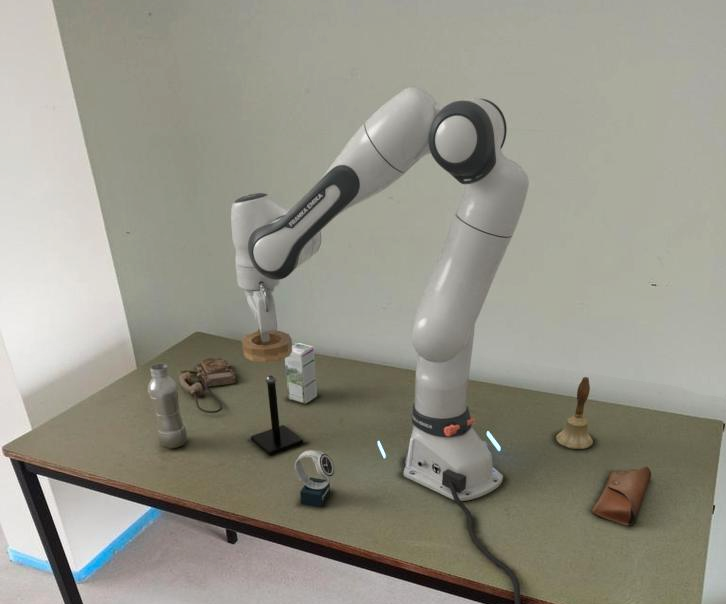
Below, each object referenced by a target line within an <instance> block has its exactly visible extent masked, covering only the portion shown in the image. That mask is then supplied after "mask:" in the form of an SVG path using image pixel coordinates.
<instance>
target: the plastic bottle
mask: <svg viewBox="0 0 726 604" xmlns="http://www.w3.org/2000/svg"><path fill="white" fill-rule="evenodd" d="M149 370H150V376H151V377H152V378H151V380H150V381H149V383H148V385H147V392H148V393H147V394H148V395H149V398H150V401H151V403H152V406H153V410H154V413H155V418H156V425H157V427H156V428H157V429H156V433H157V439H158V442H159V444H160V445H162V446H163V447H164V448H166V449H175V448H179V447H182V446H184V445H185V444H186V442H187V440H188V433H187V429H186V426H185V425H184V422H183V418H182V415H181V411H180V404H179V387H178V384H177V382H176V381H175V380H174V379H173V378H172V377H171V376H170V375H169V374H170V371H169V369H168V364H166V363H160V362H159V363H154V364H152V365H150V367H149Z"/></svg>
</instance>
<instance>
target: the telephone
mask: <svg viewBox="0 0 726 604" xmlns="http://www.w3.org/2000/svg"><path fill="white" fill-rule="evenodd" d="M195 366H196V369H187V368H186V369H184V370H180V373H181V374H180V375H179V378H178V380H179V383H180V386H181V387H182V388H183V389H184V390H185V391H186V392H187V393H190V395H192V396H194V398H195V404H196V405H195V406H196V407H197V409H198V410H200V411H201V412H203V413H207V414H216V413H219V412H221V411H222V410H223V404H222V402H221V401H220V400H219V399H218V397H217V396H216V395H215V394H214V393H213V391H211V389H210V388H209V387H216V386H224V385H231V384H232V385H233V384H236V383H237V377H236V372H235V371H234V369H233V368H231V366H230V364H229V361H228V360H223V358H214V357H212V358H211V357H210V358H206V359H204V360H203V359H202V360H201V361H200V363H197V364H196V365H195ZM191 375H196V376H197V378H198V379H199V380H200V381H201V383H200V382H199V381H198V382H195V383H193V384H192V376H191ZM205 390H207V391H208V393H209V394H210V395H211V396H212V397H213V398H214V400H215V401H216V402H217V403H218V404H219V406H220V407H219V409H217V410H206V409H204V408H202V407H201V406H200V404H199V400H198V397H201V396H203V395H204V392H205Z"/></svg>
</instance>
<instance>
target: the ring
mask: <svg viewBox="0 0 726 604" xmlns="http://www.w3.org/2000/svg"><path fill="white" fill-rule="evenodd" d="M269 337H270V340H269V341H268V342H262V340H261V336H260V331H258V330H257V331H254V332H251V333H249V334H246V335H245V336H244V337H243V338H242V339H241V346H242V354H243V356H244V358H245V359H247V360H249V361H252V362H256V363H271V362H272V363H273V362H279V361H282V360H285V358H286V357H289V355H290V354H291V353H292V344H293V341H292V340H293V339H292V337H291V336H290V334H289V333H287V332H284V331H282V330H277V331H276V332H271V333H269Z"/></svg>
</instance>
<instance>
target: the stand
mask: <svg viewBox="0 0 726 604" xmlns="http://www.w3.org/2000/svg"><path fill="white" fill-rule="evenodd" d="M265 382H266V385H267V394H268V395H267V396H268V405H269V413H270V423H271V429H268V430H265V431H262V432H258V433H256V434H253V435H250V441H251V442H252V443H254V444H255V445H256V446H257V447H258V448H260V450H262V451H263V452H264V453H265V454H267V455H268V456H269V457H271V456H275V455H277V454H280V453H282V452H286V451H287V450H291V449H294V448H296V447H299V446H301V445H304V440H303V438H301V437H300V436H299V435H297V434H296V433H295V432H293V431H292V430H291V429H290V428H289V427H287V426H286V425H284V424H282V425H280V417H279V408H278V407H279V406H278V396H277V386H276V382H277V379H276V376H275V375H273V374H269V375H267V376H266V378H265Z"/></svg>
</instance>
